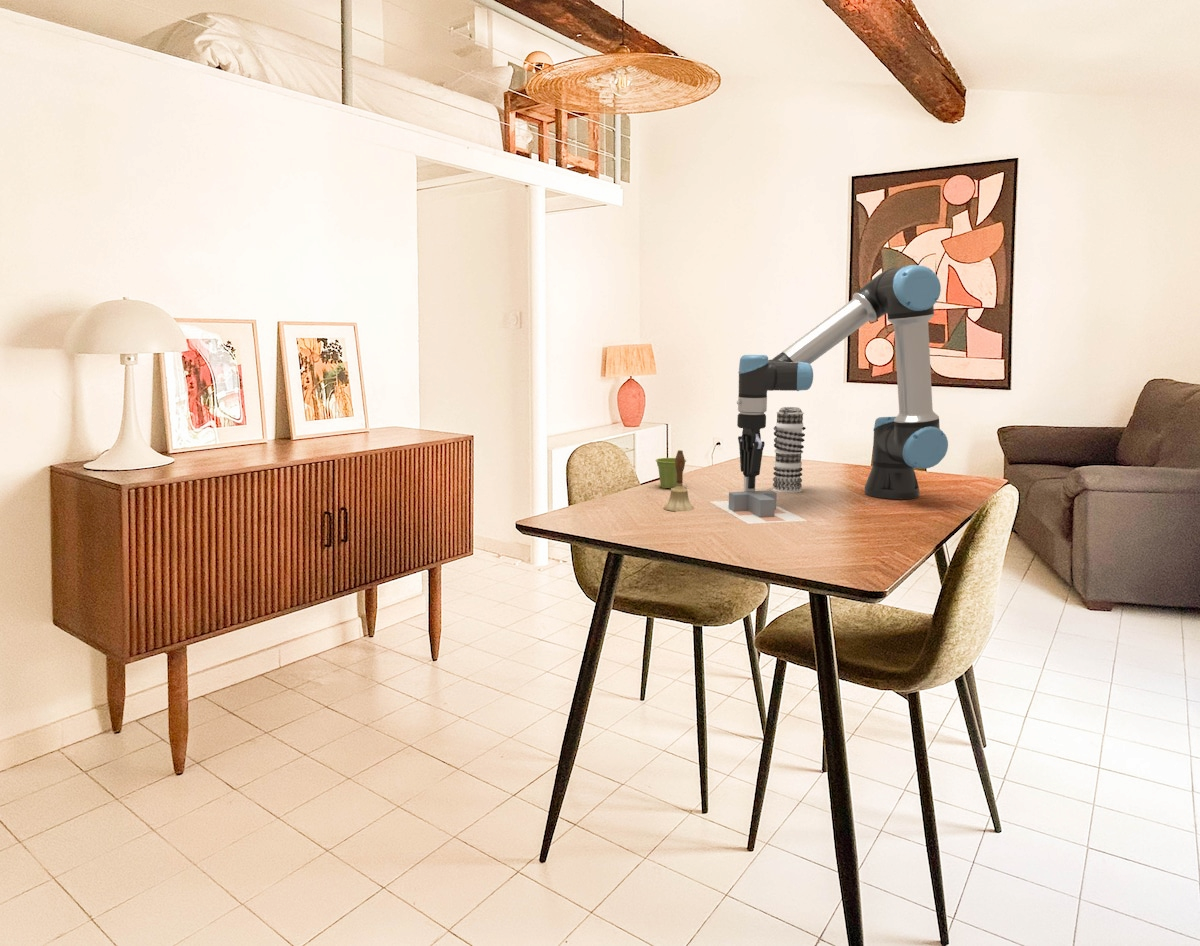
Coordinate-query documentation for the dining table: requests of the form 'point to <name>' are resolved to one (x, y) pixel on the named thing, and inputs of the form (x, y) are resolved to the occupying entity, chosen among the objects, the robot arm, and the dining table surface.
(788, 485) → the decorative candle
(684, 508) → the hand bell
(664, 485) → the plant pot
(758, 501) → the T block
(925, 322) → the robot arm
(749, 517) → the board
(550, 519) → the dining table surface
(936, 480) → the dining table surface
